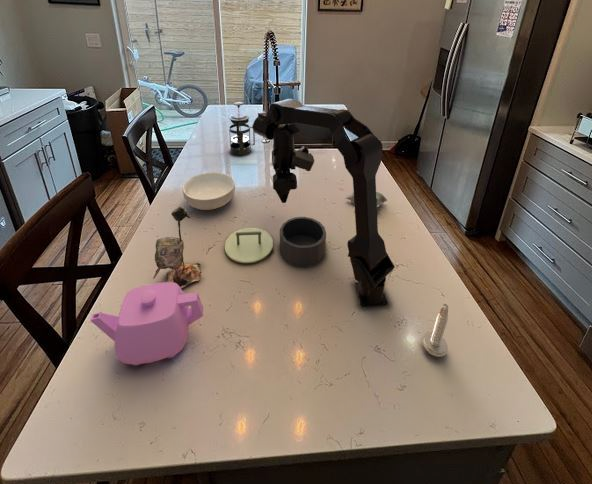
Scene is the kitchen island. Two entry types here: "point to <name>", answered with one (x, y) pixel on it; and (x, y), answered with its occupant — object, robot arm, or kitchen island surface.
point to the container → (302, 241)
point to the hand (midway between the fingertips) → (283, 193)
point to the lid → (248, 245)
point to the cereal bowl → (209, 190)
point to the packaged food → (379, 198)
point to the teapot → (151, 322)
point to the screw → (437, 335)
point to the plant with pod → (175, 256)
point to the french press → (240, 133)
